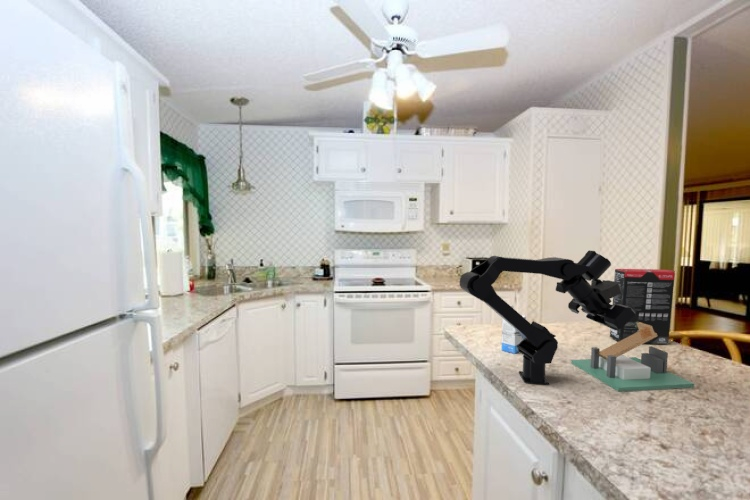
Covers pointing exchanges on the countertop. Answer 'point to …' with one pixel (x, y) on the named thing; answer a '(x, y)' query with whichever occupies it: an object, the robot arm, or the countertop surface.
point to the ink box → (510, 337)
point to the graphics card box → (645, 301)
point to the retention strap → (630, 341)
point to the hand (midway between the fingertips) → (616, 329)
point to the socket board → (635, 383)
